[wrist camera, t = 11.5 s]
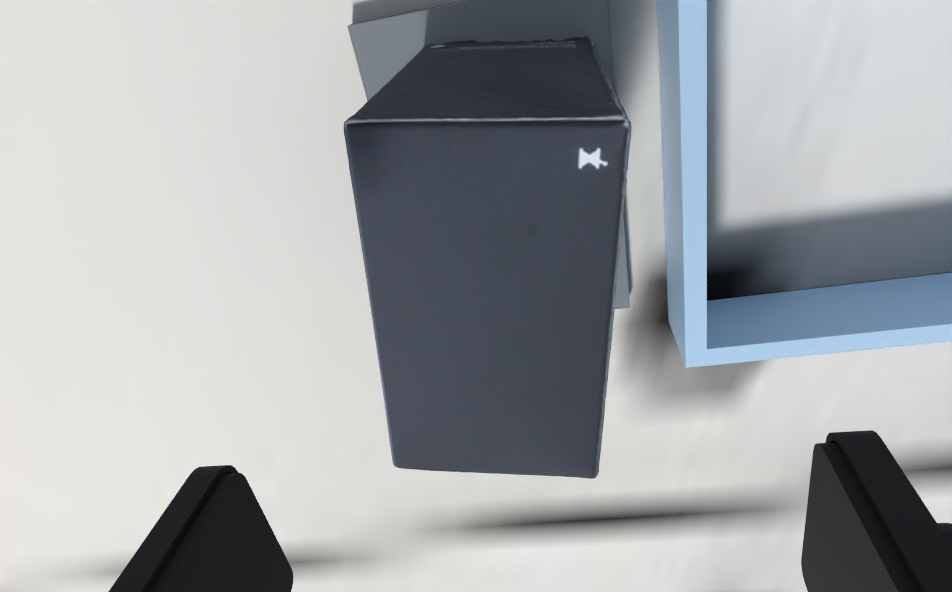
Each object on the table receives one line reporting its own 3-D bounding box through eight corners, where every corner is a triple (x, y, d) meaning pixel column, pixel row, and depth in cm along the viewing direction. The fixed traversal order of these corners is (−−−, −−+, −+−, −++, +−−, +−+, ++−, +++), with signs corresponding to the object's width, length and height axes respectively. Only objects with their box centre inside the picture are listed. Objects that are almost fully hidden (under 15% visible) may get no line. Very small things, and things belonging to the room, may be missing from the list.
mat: (603, -28, 20) (605, -27, 20) (627, 300, 27) (629, 307, 26) (351, 24, 22) (347, 26, 21) (431, 323, 28) (429, 330, 28)
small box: (410, 39, 21) (323, 110, 12) (597, 34, 21) (648, 104, 12) (432, 297, 27) (382, 478, 18) (581, 298, 26) (608, 485, 17)
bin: (1220, -205, 17) (1368, -237, 14) (1063, 276, 25) (1137, 322, 22) (653, -83, 20) (676, -88, 17) (668, 320, 27) (685, 367, 24)
